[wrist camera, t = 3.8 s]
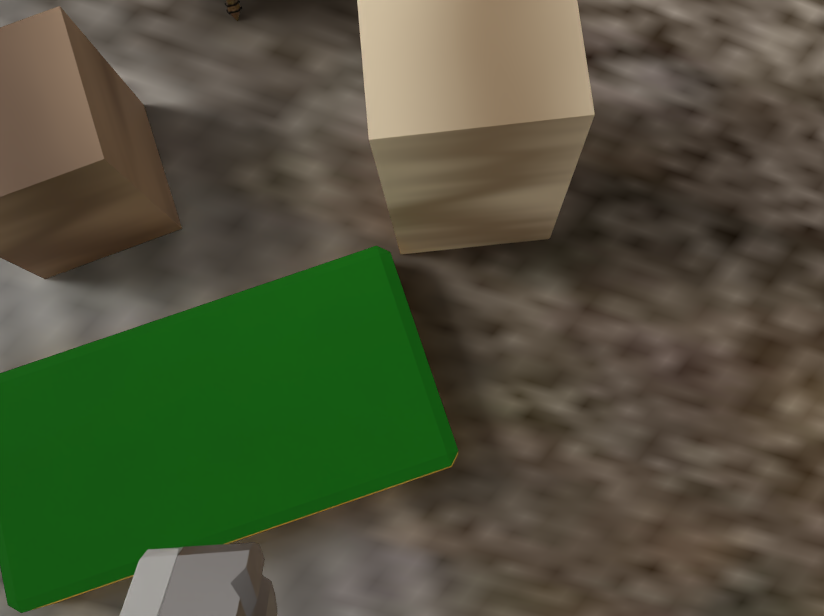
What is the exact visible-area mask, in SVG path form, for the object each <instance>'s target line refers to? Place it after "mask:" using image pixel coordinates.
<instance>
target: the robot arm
mask: <svg viewBox="0 0 824 616" xmlns="http://www.w3.org/2000/svg"><path fill="white" fill-rule="evenodd" d="M264 560H265V559H264V557H263V554H262V551H261V548H260V545H259V543H238V544H222V545H205V546H188V547H178V548H163V549H148V550H147V551H146V552H145V553H144V555H143V556H142V557H141V559H140V560H139V562H138V565H137V568H136V570H135V573H134V576H133V579H132V582H131V585H130V587H129V590H128V593H127V596H126V599H125V602H124V604H123V607H122V610H121V613H120V616H277V605H276V598H275V592H274V589H273V585H272V582H271V581H270V580H269V579H267V578H266V577H265V576H263V575H262V572H263V566H264Z"/></svg>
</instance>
